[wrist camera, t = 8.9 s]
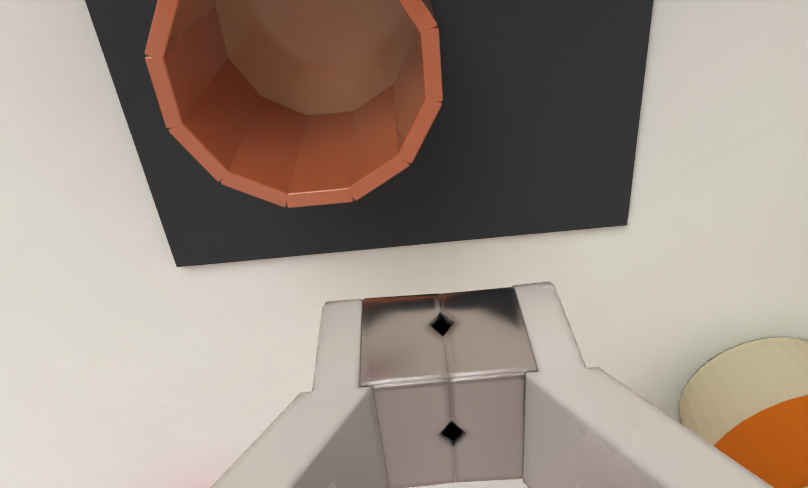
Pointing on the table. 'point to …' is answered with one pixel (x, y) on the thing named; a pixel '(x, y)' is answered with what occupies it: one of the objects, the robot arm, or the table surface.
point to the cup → (297, 91)
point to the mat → (431, 137)
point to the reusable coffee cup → (755, 408)
